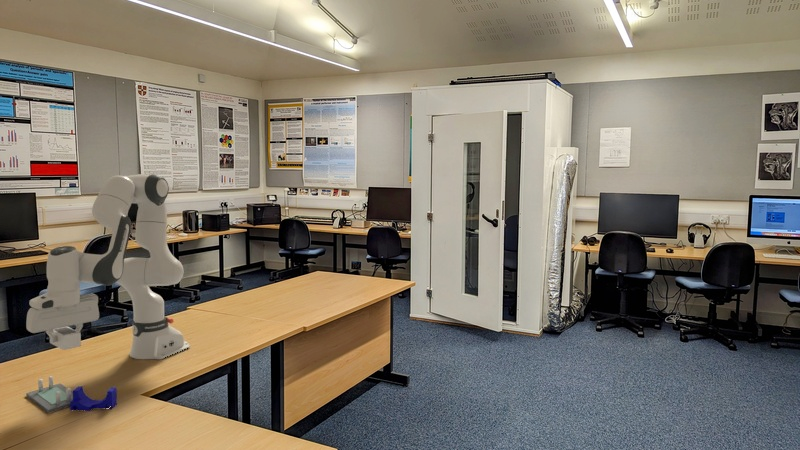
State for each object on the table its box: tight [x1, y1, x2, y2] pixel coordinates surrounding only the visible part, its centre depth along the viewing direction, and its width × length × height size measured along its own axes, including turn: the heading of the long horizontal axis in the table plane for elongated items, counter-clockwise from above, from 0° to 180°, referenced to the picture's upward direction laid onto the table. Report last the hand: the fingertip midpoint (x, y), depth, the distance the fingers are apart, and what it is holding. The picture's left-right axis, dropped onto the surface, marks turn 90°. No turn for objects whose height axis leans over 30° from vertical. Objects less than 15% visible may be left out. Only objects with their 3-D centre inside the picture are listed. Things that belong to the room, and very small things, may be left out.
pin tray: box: [25, 375, 73, 414], centre depth 170 cm, size 10×17×5 cm, turn 54°
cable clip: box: [69, 385, 118, 412], centre depth 166 cm, size 12×4×6 cm, turn 93°
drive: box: [49, 326, 82, 351], centre depth 169 cm, size 5×10×5 cm, turn 55°
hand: (64, 339), depth 169 cm, fingers closed on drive, 5 cm apart
